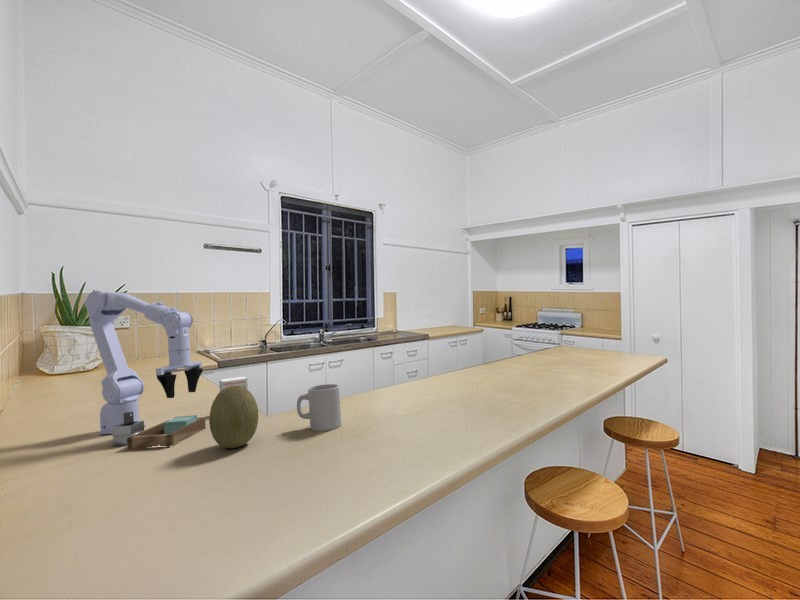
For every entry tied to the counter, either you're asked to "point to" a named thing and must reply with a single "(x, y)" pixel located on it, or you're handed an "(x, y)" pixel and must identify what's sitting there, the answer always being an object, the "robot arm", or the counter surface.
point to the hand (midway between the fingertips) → (181, 394)
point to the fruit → (233, 417)
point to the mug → (322, 407)
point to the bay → (163, 435)
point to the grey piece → (126, 432)
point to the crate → (178, 423)
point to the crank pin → (128, 418)
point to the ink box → (233, 382)
